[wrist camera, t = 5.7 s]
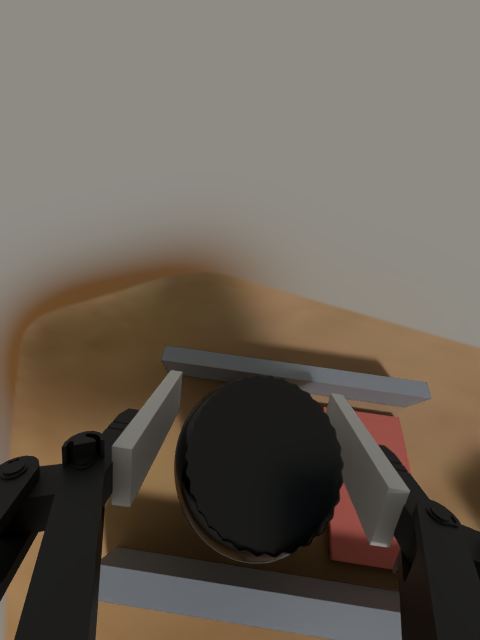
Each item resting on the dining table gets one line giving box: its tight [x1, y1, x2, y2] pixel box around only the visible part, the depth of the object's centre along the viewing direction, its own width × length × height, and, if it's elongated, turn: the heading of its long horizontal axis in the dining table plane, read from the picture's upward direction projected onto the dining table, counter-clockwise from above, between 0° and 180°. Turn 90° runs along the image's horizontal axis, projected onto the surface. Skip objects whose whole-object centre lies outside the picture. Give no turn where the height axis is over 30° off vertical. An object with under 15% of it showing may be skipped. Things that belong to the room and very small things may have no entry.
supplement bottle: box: [174, 375, 344, 564], centre depth 12 cm, size 7×7×12 cm
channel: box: [98, 346, 432, 640], centre depth 16 cm, size 20×13×3 cm
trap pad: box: [322, 407, 411, 570], centre depth 17 cm, size 6×9×1 cm, turn 173°
